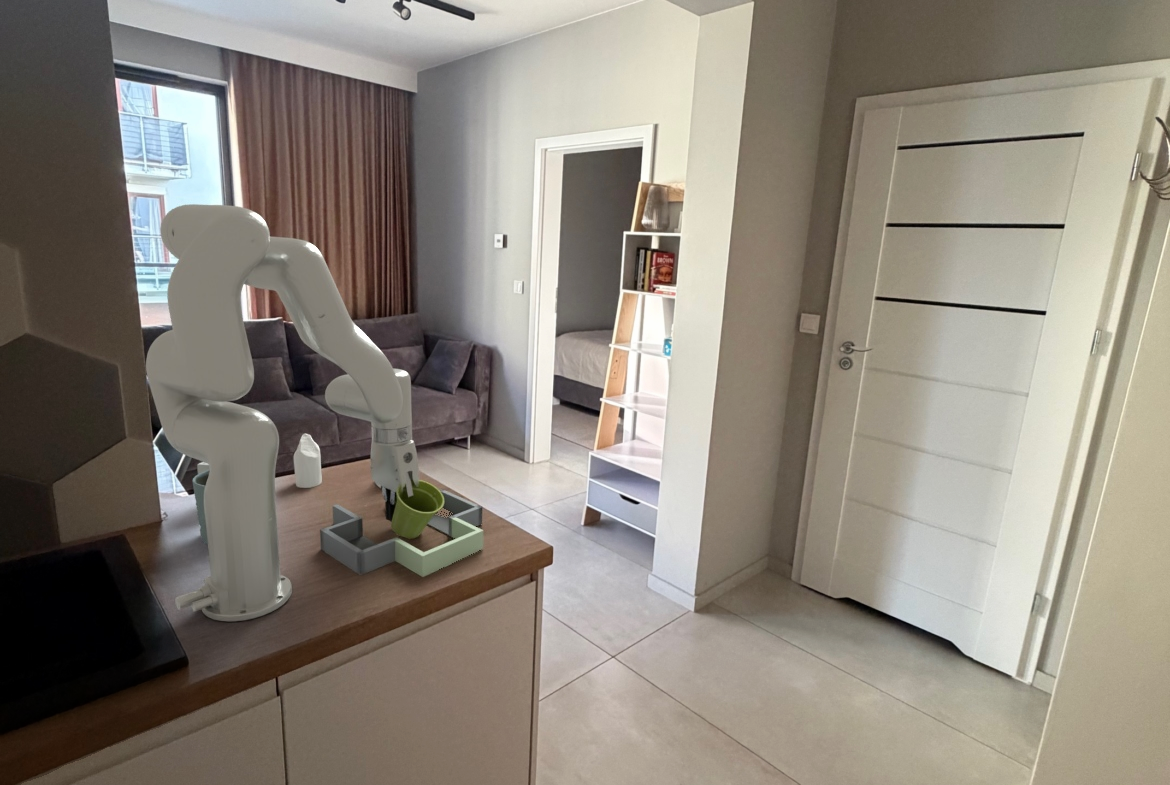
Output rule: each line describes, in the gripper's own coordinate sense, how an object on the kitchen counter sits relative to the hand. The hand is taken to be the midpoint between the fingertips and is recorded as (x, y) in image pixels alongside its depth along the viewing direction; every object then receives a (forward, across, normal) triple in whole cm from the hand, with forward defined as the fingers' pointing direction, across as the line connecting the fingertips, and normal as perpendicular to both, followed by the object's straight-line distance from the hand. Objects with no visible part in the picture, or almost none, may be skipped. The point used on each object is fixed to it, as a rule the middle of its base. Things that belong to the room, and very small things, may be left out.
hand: (395, 518), depth 124 cm
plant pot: (+1, -4, 0) cm, 4 cm away
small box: (+2, +33, +18) cm, 38 cm away
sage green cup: (+2, +19, +24) cm, 30 cm away
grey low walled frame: (+2, -6, +1) cm, 6 cm away
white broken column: (+2, +32, 0) cm, 32 cm away
